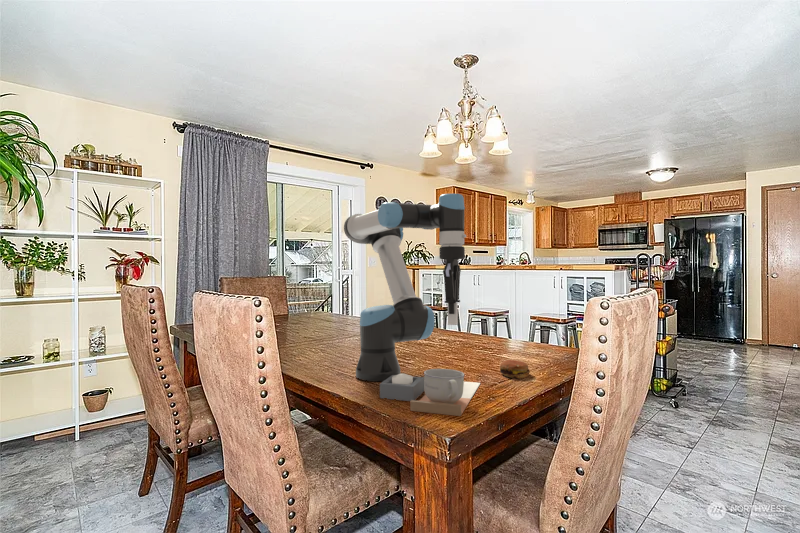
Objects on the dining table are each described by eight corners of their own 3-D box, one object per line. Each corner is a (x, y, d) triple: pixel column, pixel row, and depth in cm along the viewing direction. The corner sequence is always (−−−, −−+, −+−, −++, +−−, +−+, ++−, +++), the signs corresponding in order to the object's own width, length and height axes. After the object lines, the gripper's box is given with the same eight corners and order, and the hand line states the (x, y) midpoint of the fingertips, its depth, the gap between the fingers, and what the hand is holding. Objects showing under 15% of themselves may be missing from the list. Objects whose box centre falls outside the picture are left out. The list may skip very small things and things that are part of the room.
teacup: (422, 395, 117) (422, 367, 117) (460, 394, 117) (460, 366, 117) (427, 413, 103) (427, 381, 103) (471, 412, 104) (470, 379, 103)
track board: (410, 410, 106) (410, 401, 106) (439, 380, 133) (439, 373, 133) (460, 416, 102) (460, 406, 102) (480, 383, 129) (480, 376, 129)
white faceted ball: (389, 396, 118) (388, 375, 118) (396, 390, 124) (396, 370, 124) (409, 398, 116) (408, 377, 116) (415, 392, 121) (415, 371, 121)
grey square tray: (379, 398, 117) (379, 383, 117) (392, 387, 126) (392, 374, 126) (413, 401, 113) (413, 386, 113) (424, 390, 123) (424, 377, 123)
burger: (516, 370, 145) (516, 357, 145) (535, 376, 136) (535, 362, 136) (493, 374, 141) (493, 360, 141) (511, 380, 132) (511, 366, 132)
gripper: (459, 245, 117) (460, 328, 117) (468, 246, 129) (469, 321, 130) (434, 245, 120) (434, 327, 120) (445, 246, 132) (445, 320, 132)
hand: (452, 324), depth 125 cm, fingers closed
